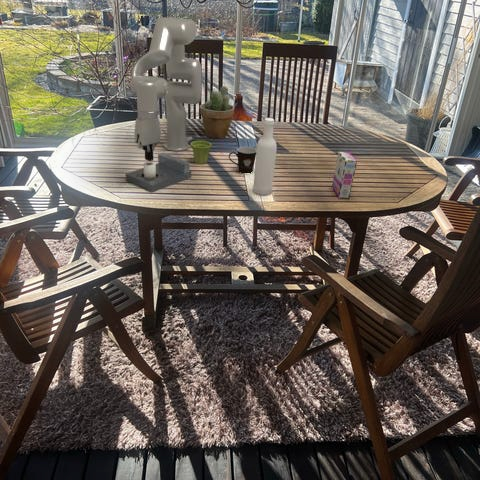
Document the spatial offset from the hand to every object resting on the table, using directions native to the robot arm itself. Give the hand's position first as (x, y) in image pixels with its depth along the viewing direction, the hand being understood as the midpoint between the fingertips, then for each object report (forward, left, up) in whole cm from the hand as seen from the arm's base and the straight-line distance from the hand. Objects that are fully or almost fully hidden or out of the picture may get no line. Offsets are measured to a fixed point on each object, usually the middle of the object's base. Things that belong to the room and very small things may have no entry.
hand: (149, 160), depth 184 cm
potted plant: (-69, -24, -10) cm, 74 cm away
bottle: (-27, +38, -10) cm, 48 cm away
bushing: (0, 0, -10) cm, 10 cm away
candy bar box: (-50, +62, -10) cm, 80 cm away
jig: (-5, 0, -10) cm, 11 cm away
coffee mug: (-39, +18, -10) cm, 44 cm away
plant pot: (-33, -2, -10) cm, 35 cm away
